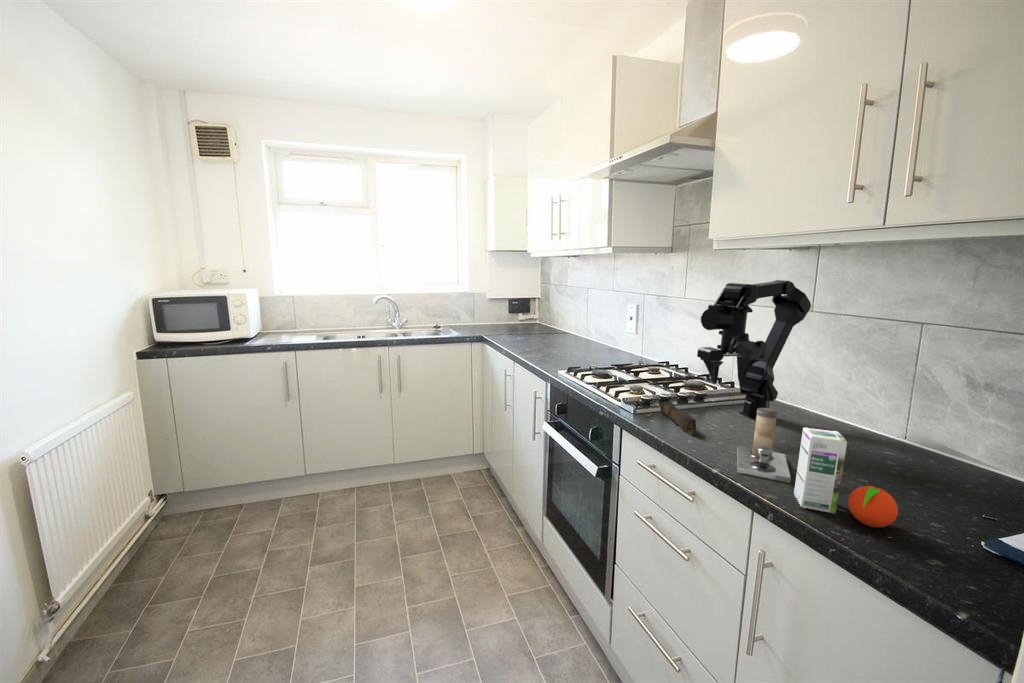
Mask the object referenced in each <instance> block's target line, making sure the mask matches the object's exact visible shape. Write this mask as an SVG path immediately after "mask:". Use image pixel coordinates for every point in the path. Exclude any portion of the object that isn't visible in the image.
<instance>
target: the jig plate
mask: <svg viewBox="0 0 1024 683" xmlns="http://www.w3.org/2000/svg"><path fill="white" fill-rule="evenodd" d="M752 449H753V447H748V446H742V445H737V449H736V451H737V452H736V453H737V457H736V458H737V459H736V462H737V464H736V469H737V470H736V471H737V472H736V473H739V474H743V475H748V476H753V477H758V478H762V479H768V480H772V481H777V482H780V483H781V482H782V483H787V484H791V473H790V469H789V466H788V462H787V457H786V454H785V453H780V452H775V451H774V450H773V449H770V448H767V447H758V453H759V454H760V458H757V457H755V456H753V455H752ZM769 456H771V459H769Z"/></svg>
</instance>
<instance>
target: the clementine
mask: <svg viewBox="0 0 1024 683" xmlns="http://www.w3.org/2000/svg"><path fill="white" fill-rule="evenodd" d="M847 499H848V501H847V504H848V506H847V507H848V509H849V511H850V513H851V515H852V516H853V517H854V518H855V519H856V520H857V521H858V522H860V523H861V524H863V525H865V526H867V527H872V528H885V527H887V526H889V525H892V524H893V523H894V522H895V521H896V519H897V517H898V514H899V508H898V504H897V503H896V502H897V501H896V500H895V499H894V497H893V496H892V495H891V494H889V493H888V492H887V491H886V490H884V489H882V488H880V487H877V486H873V485H865V486H864V485H863V486H860V487H857V488H855V489H854V490H853V491H851V493H850V494H849V496H848V498H847Z"/></svg>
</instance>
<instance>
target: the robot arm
mask: <svg viewBox="0 0 1024 683" xmlns="http://www.w3.org/2000/svg"><path fill="white" fill-rule="evenodd" d="M769 297H772V298H771V301H772V303H773V305H774V306H775V307H774V310H773V312H774V316H775V320H774V323H773V324H772V327H771V329H770V331H769V333H768V335H767V338H766V339H765V341H763V340H756V341H752V340H750V335H749V333H746V327H747V319H748V313H749V314H750V313H751V314H752V313H753V311H754V310H753V309H752V308H751V307H750V306H749V305H752V304H754V303H755V302H757V300H758V299H762V298H769ZM811 307H812V303H811V301H810V299H809V297H808V296H807V295H806V293H804V292H803V291H802V290H800V289H799V288H798V287H796V285H795V284H794V282H792V281H790V280H780V279H776V280H773V281H767V282H760V283H759V282H758V283H753V284H750V283H738V282H728V283H726V284H725V285H724V288H723V289H722V290H721V292H720V294H719V295H718V297H717V298H716V299H715V302H714V303H713V304H708V307H707V308H706V309H705V310H704V311H703V313H702V314H701V316H700V324H701V326H702V327H703V328H704V329H705V330H706V331H717V330H719V331H718V335H721V340H720V344H717V345H716V346H717V347H716V348H715V347H711V346H705V347H703V346H702V347H699V348H698V349H697V354H696V355H697V356H696V357H697V358H700V360H701V361H703V363H704V366H705V367H706V370H707V371H708V375H709V377H710V380H711V382H712V384H714V385H715V384H717V382H718V378H719V371H720V366H721V365H722V364H724V361H722V360H723V359H724V357H736V366H737V379H738V385H739V391H740V394H742V395H745V399H744V401H743V408H742V410H741V411H739V413H738V414H740V415H743V416H746V417H748V418H750V419H752V420H755V421H756V417H757V409H758V408H768V409H770V402H774V401H775V400H776V399H777V398H778V395H779V392H778V391H777V388H776V386H774V382H775V374H774V373H775V372H774V370H773V369H774V368H775V366H776V365H775V364H776V363H777V360H778V359H779V358H780V357H779V356H780V354H781V353H782V351H783V348H784V347H785V344H786V342H787V341H788V338H789V336H790V335H791V332H792V330H793V328H794V327H795V326H797V324H799V323H800V322H802V321H803V320H804V319H805V318H806V316H807V315H808V313H809V311H810V310H811Z"/></svg>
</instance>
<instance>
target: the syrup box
mask: <svg viewBox="0 0 1024 683" xmlns="http://www.w3.org/2000/svg"><path fill="white" fill-rule="evenodd" d="M847 445H848V441H847V439H846V438H845V437H844V436H843V435H842V434H841V433H840V432H839V431H837V430H825V429H819V428H812V427H811V428H809V427H803V428H802V434H801V441H800V447H799V448H800V449H799V453H798V454H799V455H798V462H797V470H796V475H795V484H794V491H793V495H794V498H795V499H796V498H797V499H796V501H797V500H798V501H797V503H798V502H799V503H798V505H799V504H800V505H799V506H801V507H803V508H802V509H807V508H808V509H809V510H813V509H814V510H813V511H818V510H819V512H825V513H829V514H833V515H834V514H835V515H836V513H837V507H838V502H839V501H838V500H839V494H840V488H841V483H842V476H843V470H844V466H845V465H844V463H845V458H846V452H847ZM801 507H800V508H801Z"/></svg>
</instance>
